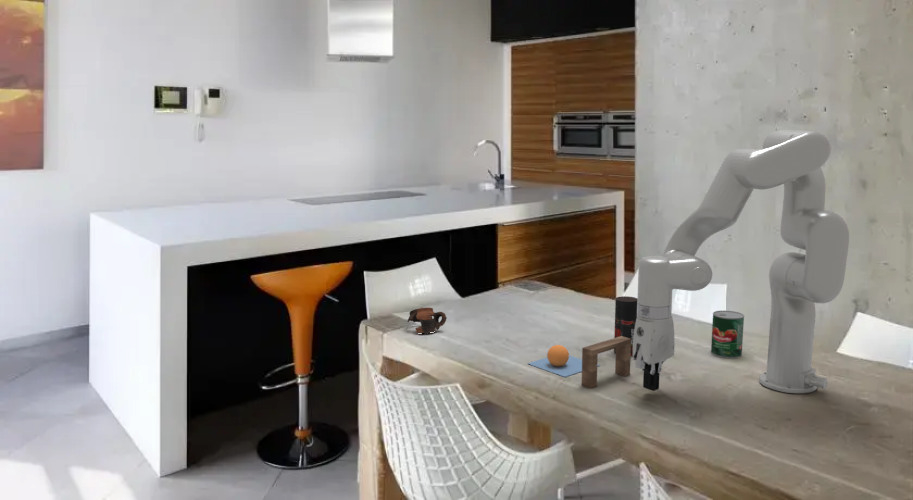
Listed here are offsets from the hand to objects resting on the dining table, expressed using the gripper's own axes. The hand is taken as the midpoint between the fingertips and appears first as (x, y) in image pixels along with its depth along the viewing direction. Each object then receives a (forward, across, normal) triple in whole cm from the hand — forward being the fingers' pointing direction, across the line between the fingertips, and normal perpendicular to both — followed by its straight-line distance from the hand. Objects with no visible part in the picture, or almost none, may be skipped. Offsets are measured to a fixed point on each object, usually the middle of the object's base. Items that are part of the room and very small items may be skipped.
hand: (650, 388), depth 169 cm
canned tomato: (+2, +40, +5) cm, 40 cm away
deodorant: (+2, +20, +23) cm, 31 cm away
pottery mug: (+2, -8, +75) cm, 75 cm away
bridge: (+2, 0, +13) cm, 13 cm away
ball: (-1, -2, +27) cm, 27 cm away
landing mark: (+2, 0, +27) cm, 27 cm away
